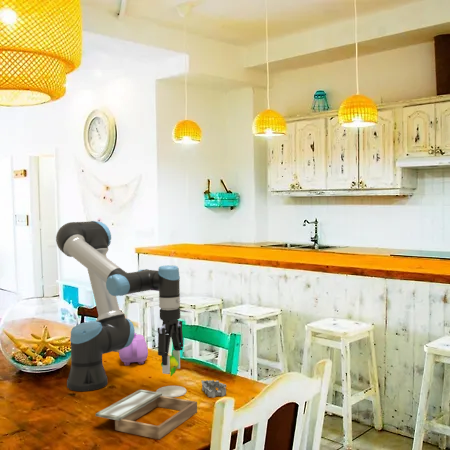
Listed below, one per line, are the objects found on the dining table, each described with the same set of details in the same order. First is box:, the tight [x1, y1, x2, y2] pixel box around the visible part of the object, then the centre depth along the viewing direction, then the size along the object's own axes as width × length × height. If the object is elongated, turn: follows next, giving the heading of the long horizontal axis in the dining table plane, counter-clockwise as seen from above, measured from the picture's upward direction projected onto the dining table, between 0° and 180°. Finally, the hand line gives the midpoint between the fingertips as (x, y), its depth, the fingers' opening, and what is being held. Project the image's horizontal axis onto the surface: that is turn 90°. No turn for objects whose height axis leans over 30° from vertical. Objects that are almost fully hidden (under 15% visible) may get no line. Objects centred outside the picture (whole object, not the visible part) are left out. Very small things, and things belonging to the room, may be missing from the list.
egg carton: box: [201, 379, 227, 398], centre depth 200 cm, size 11×8×4 cm
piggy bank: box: [118, 332, 149, 366], centre depth 241 cm, size 20×12×13 cm, turn 14°
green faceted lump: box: [160, 355, 178, 378], centre depth 200 cm, size 7×6×9 cm
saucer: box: [155, 385, 187, 398], centre depth 201 cm, size 11×11×1 cm
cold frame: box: [95, 389, 198, 440], centre depth 176 cm, size 23×24×4 cm
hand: (171, 370), depth 201 cm, fingers closed on green faceted lump, 6 cm apart
